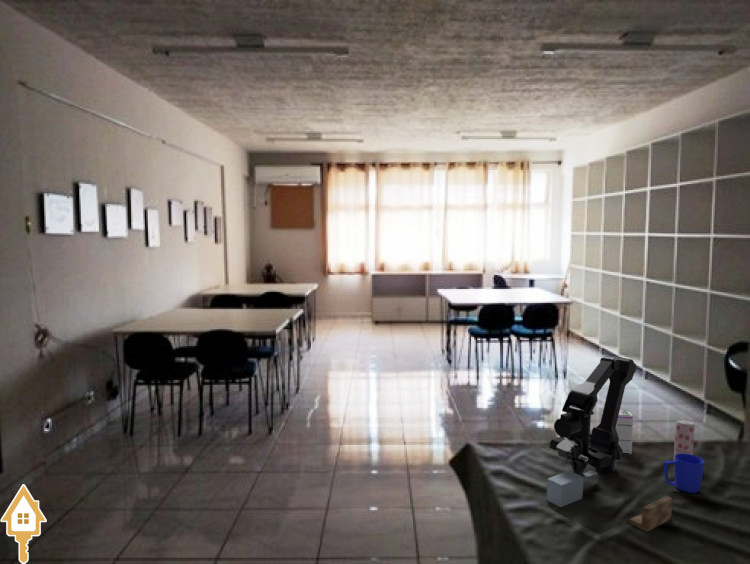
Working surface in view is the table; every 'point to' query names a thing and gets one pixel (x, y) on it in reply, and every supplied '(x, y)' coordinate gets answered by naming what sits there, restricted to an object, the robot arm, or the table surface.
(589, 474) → the grey rectangular block
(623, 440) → the syrup box
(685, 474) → the mug
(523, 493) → the table surface
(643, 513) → the shelf
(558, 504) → the blue-grey rectangular block
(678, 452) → the beverage can
